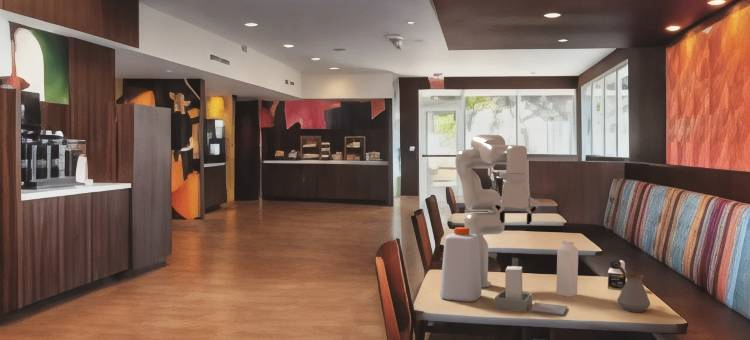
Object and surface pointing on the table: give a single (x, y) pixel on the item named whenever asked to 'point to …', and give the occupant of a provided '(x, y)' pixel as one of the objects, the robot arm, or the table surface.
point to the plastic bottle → (461, 267)
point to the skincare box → (513, 282)
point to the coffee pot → (633, 293)
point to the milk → (567, 269)
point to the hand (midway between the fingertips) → (515, 223)
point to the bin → (513, 302)
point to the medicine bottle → (616, 275)
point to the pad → (548, 309)
